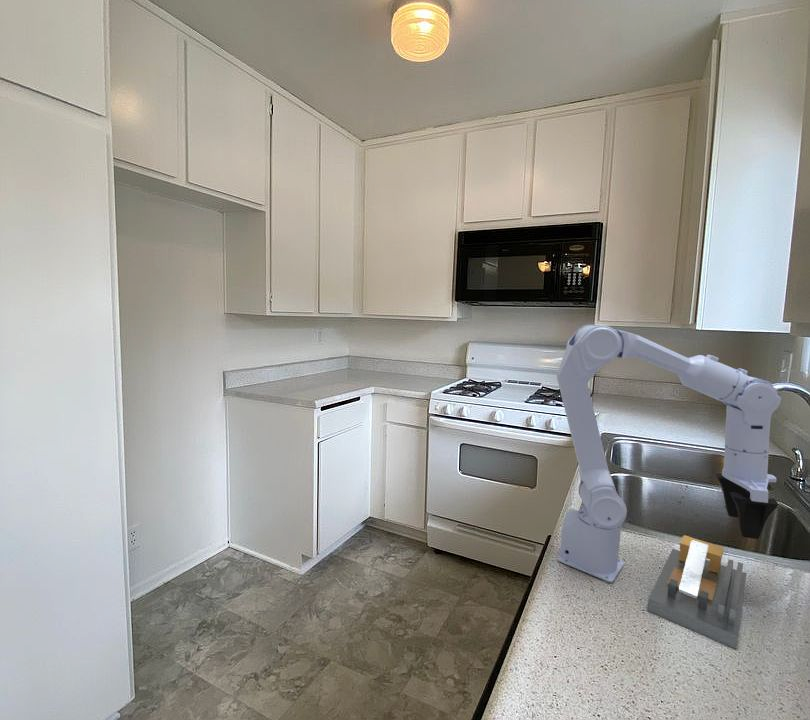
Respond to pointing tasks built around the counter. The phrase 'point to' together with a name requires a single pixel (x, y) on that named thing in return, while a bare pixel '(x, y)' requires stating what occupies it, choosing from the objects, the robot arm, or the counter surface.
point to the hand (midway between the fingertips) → (742, 526)
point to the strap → (693, 569)
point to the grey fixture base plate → (701, 600)
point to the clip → (712, 553)
